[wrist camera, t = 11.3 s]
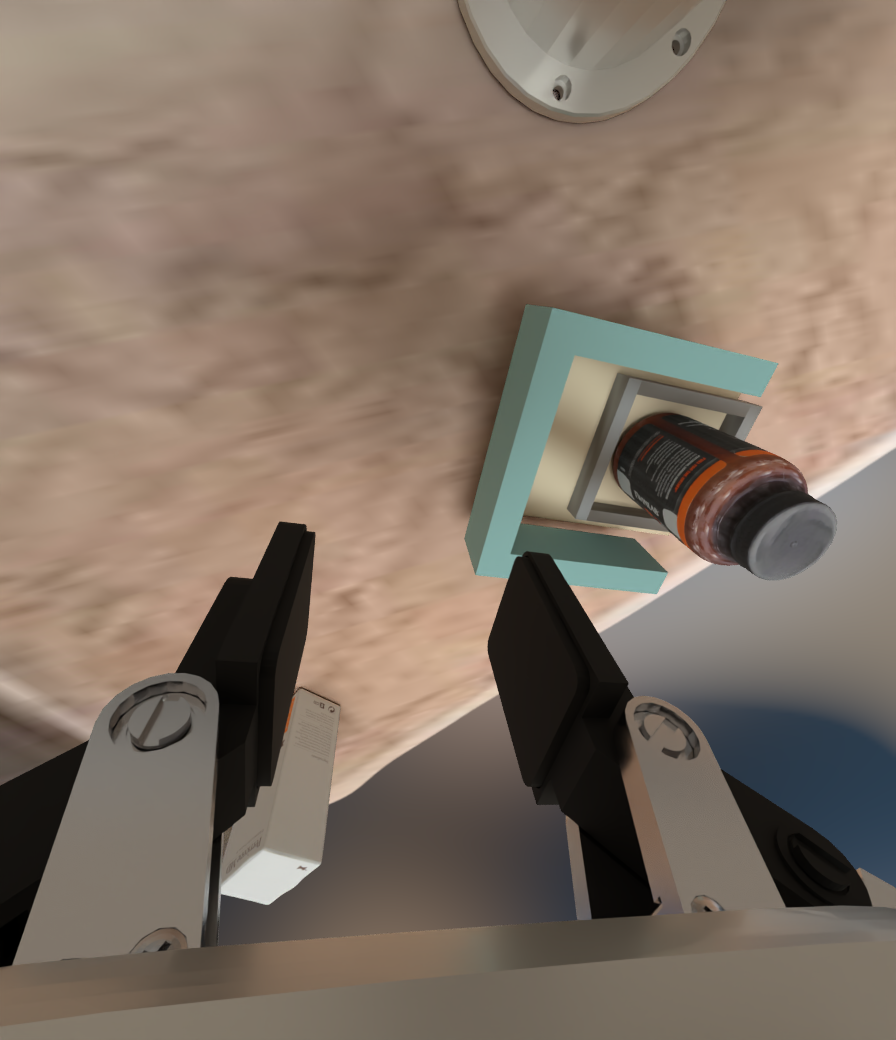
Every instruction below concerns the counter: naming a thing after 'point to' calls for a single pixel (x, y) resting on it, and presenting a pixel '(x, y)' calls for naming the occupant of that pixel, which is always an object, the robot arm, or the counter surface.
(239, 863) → the skincare box
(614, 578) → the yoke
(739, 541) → the supplement bottle
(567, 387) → the housing base
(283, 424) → the counter surface
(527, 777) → the robot arm
